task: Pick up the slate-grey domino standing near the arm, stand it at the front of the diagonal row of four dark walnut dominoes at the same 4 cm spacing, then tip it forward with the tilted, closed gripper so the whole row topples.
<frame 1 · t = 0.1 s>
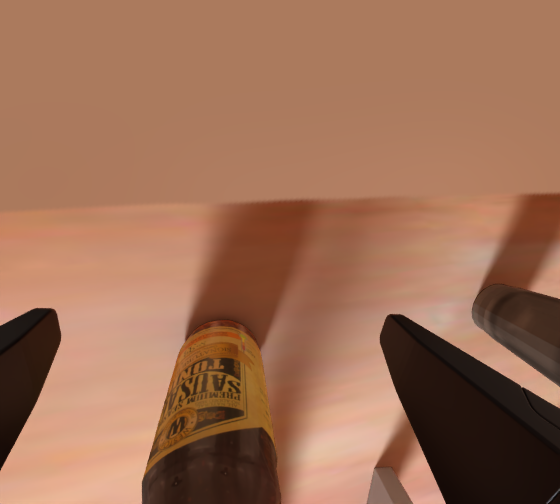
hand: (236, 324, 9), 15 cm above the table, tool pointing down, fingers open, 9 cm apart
beverage cup: (492, 306, 30), on the table
sauce bottle: (218, 351, 26), on the table
domino 1: (378, 488, 32), on the table
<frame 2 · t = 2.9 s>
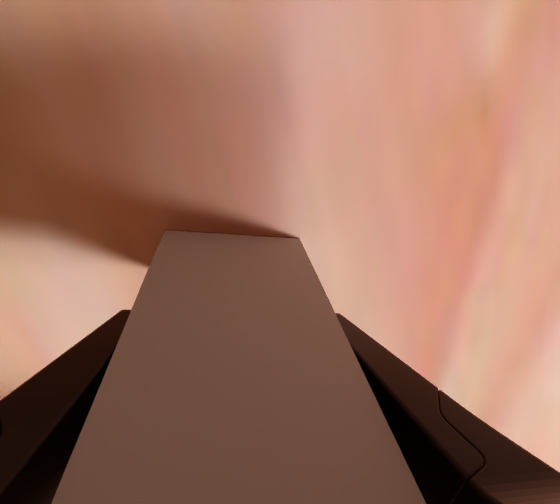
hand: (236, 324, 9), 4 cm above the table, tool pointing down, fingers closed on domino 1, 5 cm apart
domino 1: (232, 255, 13), on the table, touching gripper
when the fingers open (5 cm above the table, at t = 7.5 s): domino 1 drops 1 cm, on the table.
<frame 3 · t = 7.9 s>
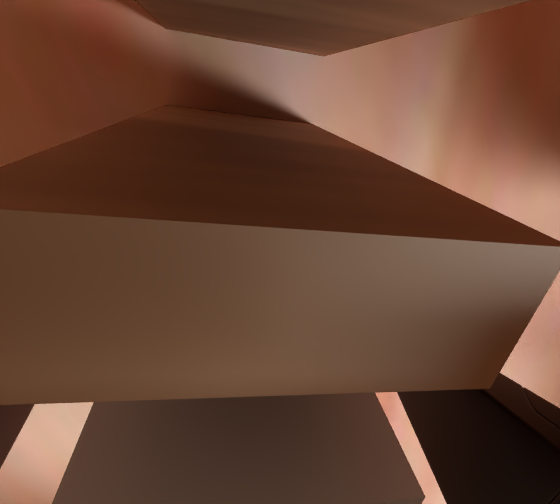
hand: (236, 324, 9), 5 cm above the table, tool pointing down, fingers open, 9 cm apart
domino 2: (240, 141, 12), on the table
domino 1: (232, 244, 13), on the table
domino 3: (251, 8, 10), on the table
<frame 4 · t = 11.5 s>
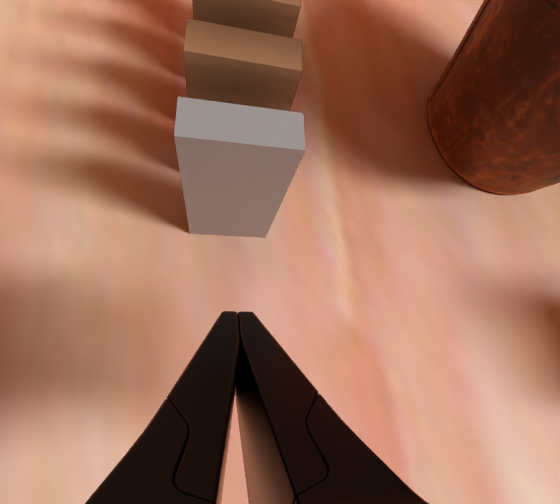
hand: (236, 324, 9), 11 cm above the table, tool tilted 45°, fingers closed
domino 2: (231, 170, 23), on the table
domino 1: (228, 223, 22), on the table
domino 3: (233, 125, 24), on the table
brown wooden tapered container: (486, 138, 30), on the table
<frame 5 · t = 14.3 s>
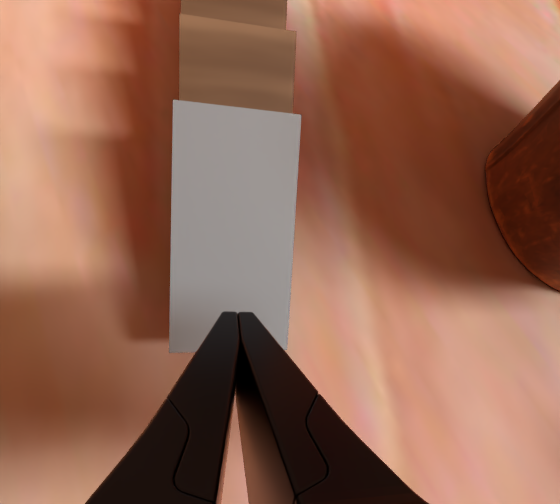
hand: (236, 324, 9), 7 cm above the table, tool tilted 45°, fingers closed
domino 2: (233, 250, 16), point 1 cm above the table, tilted 65°, touching domino 1, domino 3
domino 1: (229, 342, 15), point 1 cm above the table, tilted 65°, touching domino 2
domino 3: (230, 180, 17), point 1 cm above the table, tilted 65°, touching domino 2
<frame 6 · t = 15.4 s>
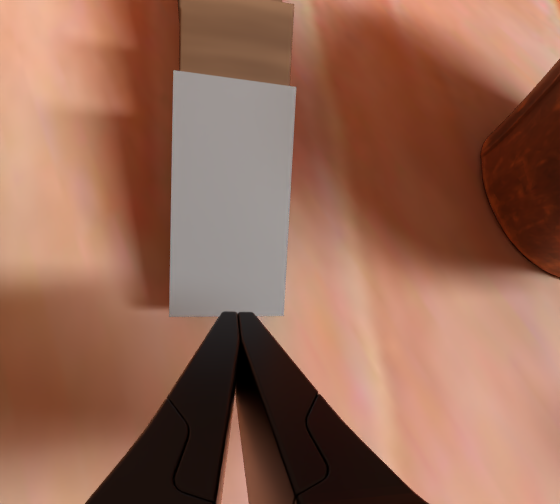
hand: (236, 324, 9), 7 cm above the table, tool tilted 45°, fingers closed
domino 2: (230, 217, 17), point 1 cm above the table, tilted 65°, touching domino 1, domino 3
domino 1: (227, 310, 15), point 1 cm above the table, tilted 66°, touching domino 2
brown wooden tapered container: (554, 200, 23), on the table
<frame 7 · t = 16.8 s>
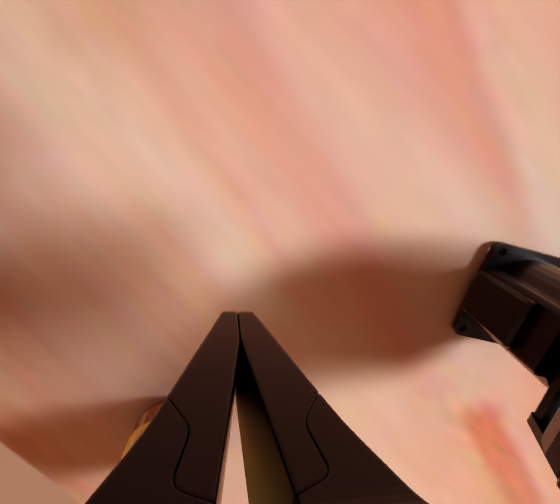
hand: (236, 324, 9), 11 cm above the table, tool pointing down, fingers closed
sauce bottle: (183, 426, 24), on the table
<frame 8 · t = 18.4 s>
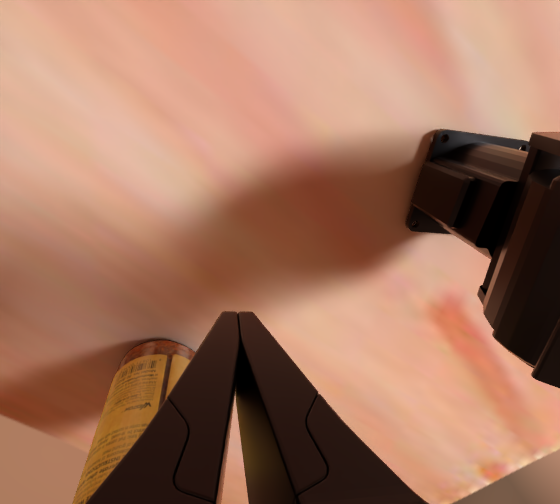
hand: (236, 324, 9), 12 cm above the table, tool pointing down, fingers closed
sauce bottle: (166, 364, 25), on the table
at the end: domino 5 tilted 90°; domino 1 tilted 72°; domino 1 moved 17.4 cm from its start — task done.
